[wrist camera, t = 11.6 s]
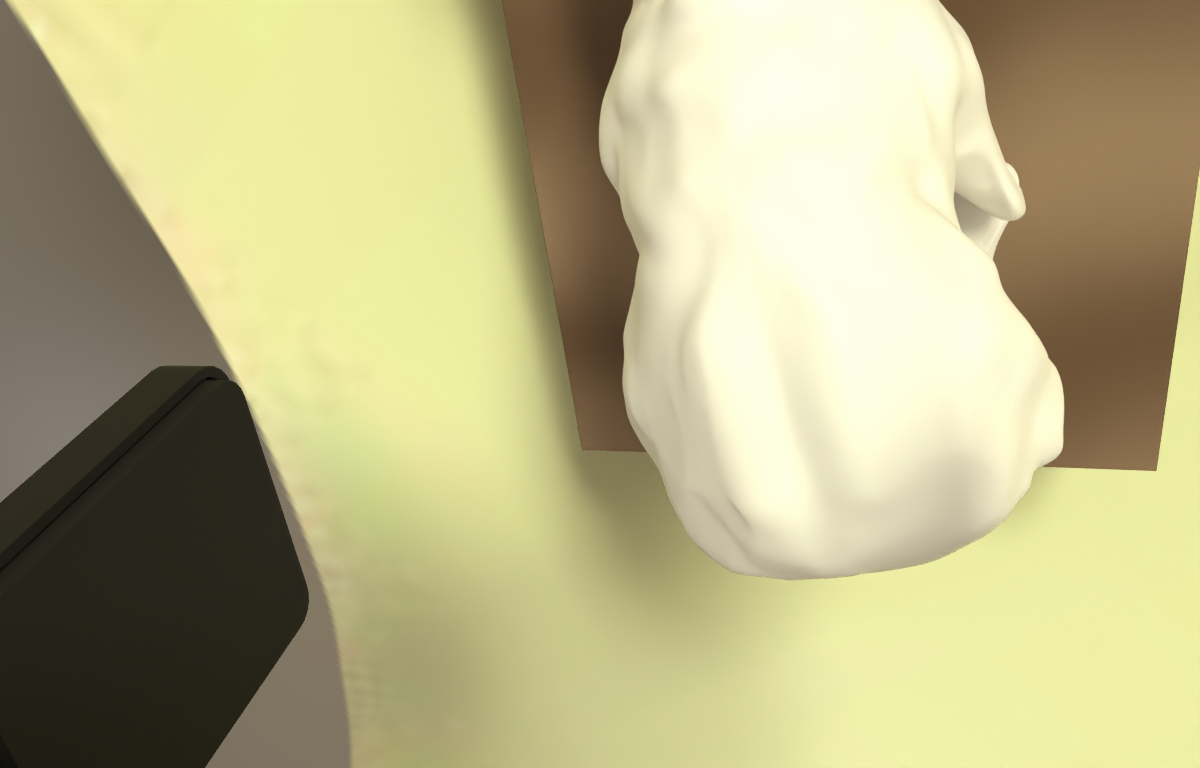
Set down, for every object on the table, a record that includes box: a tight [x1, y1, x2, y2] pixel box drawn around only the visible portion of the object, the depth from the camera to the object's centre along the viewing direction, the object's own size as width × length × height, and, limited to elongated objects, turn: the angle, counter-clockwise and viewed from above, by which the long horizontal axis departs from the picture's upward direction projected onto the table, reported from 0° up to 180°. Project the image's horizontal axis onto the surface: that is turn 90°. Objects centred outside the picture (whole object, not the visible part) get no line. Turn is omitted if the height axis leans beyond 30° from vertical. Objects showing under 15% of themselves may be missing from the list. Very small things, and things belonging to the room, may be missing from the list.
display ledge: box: [502, 0, 1200, 471], centre depth 20 cm, size 18×12×8 cm, turn 8°
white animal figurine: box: [599, 0, 1064, 580], centre depth 17 cm, size 6×8×12 cm
